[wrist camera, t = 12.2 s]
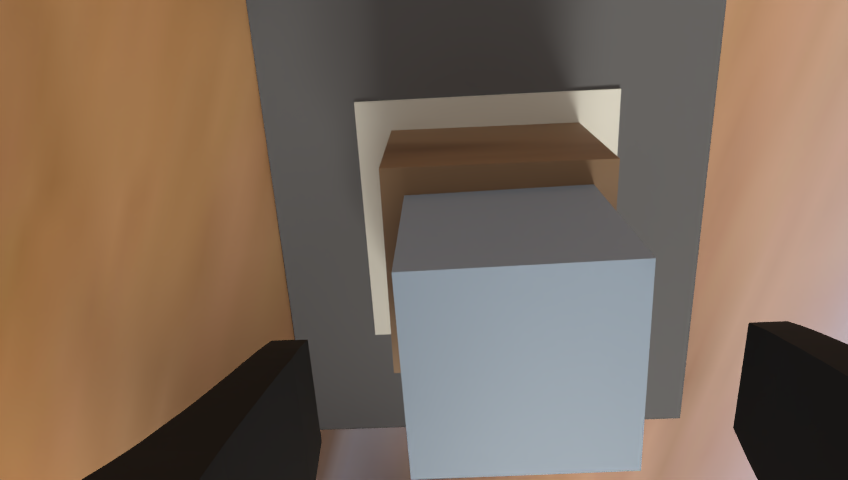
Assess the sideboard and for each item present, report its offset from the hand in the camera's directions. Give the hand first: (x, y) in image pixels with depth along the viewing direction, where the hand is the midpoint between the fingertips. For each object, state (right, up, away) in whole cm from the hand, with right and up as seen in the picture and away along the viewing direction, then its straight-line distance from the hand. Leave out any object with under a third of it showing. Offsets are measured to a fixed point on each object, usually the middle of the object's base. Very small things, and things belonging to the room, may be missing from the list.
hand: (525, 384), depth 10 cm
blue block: (0, +2, +4) cm, 4 cm away
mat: (0, +3, +8) cm, 9 cm away
